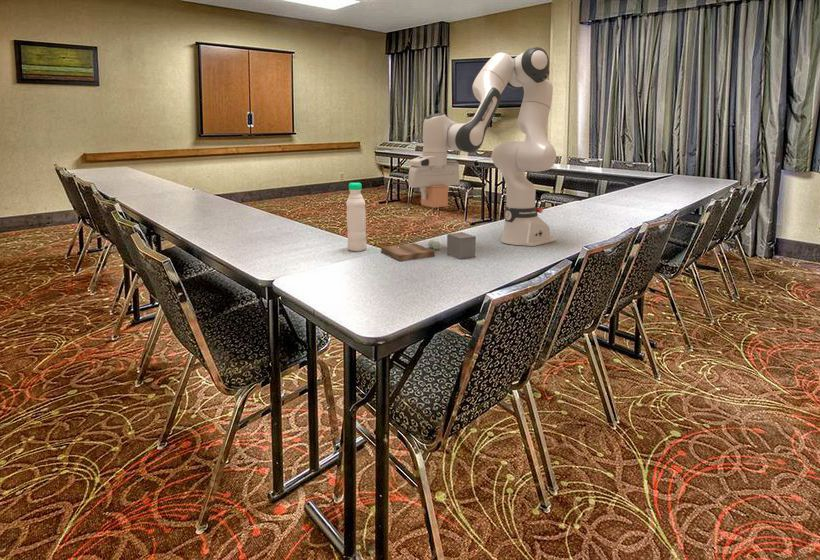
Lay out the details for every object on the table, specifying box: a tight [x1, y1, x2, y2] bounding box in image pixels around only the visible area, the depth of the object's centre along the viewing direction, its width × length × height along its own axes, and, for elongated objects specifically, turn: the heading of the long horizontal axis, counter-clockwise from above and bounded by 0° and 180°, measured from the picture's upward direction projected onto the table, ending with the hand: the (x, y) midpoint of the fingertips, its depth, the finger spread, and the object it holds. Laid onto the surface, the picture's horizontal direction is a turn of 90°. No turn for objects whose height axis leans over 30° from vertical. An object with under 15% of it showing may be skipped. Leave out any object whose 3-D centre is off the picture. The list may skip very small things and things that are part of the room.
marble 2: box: [432, 241, 442, 250], centre depth 196 cm, size 3×3×3 cm
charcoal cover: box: [446, 231, 477, 260], centre depth 186 cm, size 6×9×8 cm
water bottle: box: [345, 182, 368, 252], centre depth 193 cm, size 7×7×25 cm
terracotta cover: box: [420, 185, 449, 208], centre depth 191 cm, size 6×9×8 cm
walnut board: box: [380, 242, 436, 262], centre depth 188 cm, size 14×15×2 cm
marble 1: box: [427, 239, 436, 248], centre depth 199 cm, size 3×3×3 cm
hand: (434, 198), depth 192 cm, fingers closed on terracotta cover, 6 cm apart
